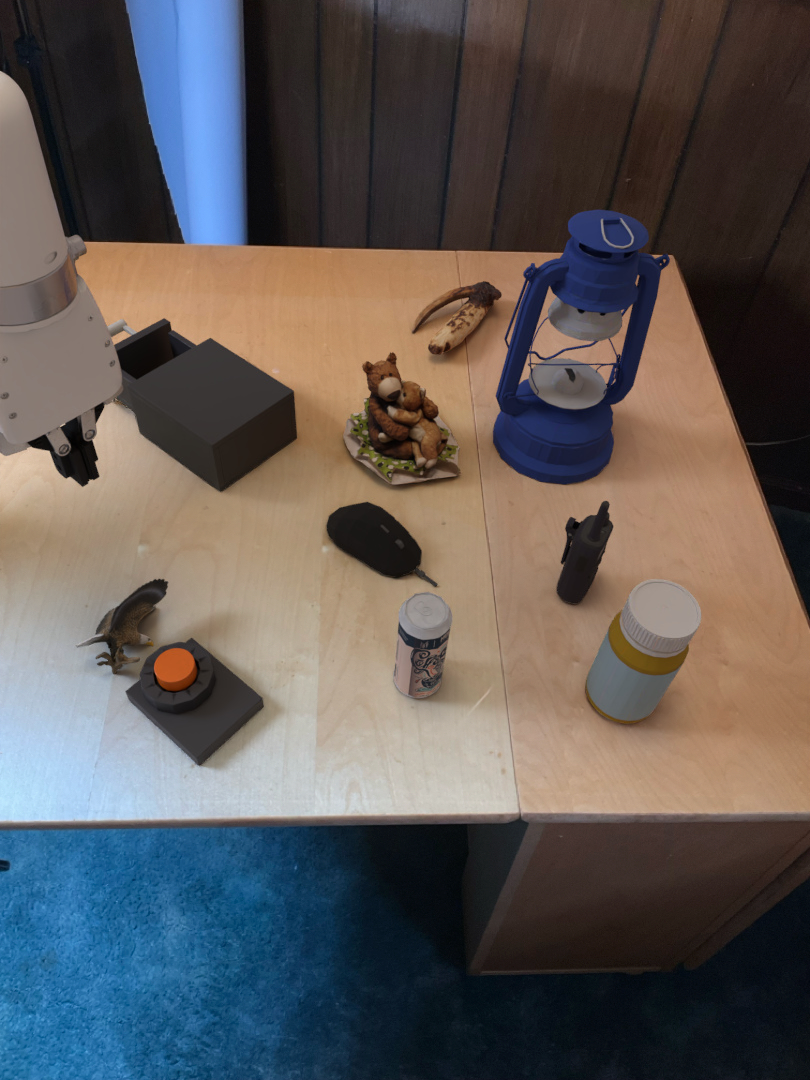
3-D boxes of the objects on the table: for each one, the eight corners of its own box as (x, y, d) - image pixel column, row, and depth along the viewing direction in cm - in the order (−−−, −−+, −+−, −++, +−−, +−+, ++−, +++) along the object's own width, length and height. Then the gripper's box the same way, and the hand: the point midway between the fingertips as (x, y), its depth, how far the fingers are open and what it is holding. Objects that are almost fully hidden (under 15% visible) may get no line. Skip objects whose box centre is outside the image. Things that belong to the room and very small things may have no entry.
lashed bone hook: (451, 290, 123) (392, 348, 113) (454, 261, 120) (393, 319, 109) (507, 308, 120) (451, 369, 110) (511, 279, 117) (454, 340, 106)
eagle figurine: (170, 674, 77) (189, 589, 81) (112, 649, 72) (135, 559, 76) (115, 684, 80) (135, 602, 85) (56, 659, 75) (81, 573, 79)
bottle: (612, 651, 83) (656, 561, 71) (668, 697, 80) (723, 611, 68) (569, 690, 79) (607, 603, 68) (625, 740, 76) (675, 658, 65)
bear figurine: (375, 504, 94) (378, 426, 84) (329, 422, 102) (328, 343, 93) (479, 474, 98) (493, 396, 88) (427, 397, 106) (434, 319, 97)
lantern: (504, 491, 96) (553, 266, 73) (471, 407, 105) (506, 184, 82) (637, 475, 99) (725, 254, 76) (594, 395, 108) (661, 176, 85)
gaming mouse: (418, 604, 85) (421, 582, 82) (315, 533, 90) (314, 509, 87) (454, 569, 88) (457, 546, 85) (352, 502, 94) (352, 478, 91)
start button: (149, 675, 74) (145, 665, 73) (179, 650, 76) (176, 640, 75) (174, 698, 73) (171, 689, 72) (205, 673, 75) (202, 663, 74)
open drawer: (72, 374, 104) (59, 337, 99) (143, 335, 110) (134, 298, 105) (170, 446, 97) (162, 409, 92) (241, 400, 103) (236, 364, 98)
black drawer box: (139, 433, 99) (126, 385, 93) (217, 385, 106) (210, 337, 100) (220, 492, 94) (211, 445, 88) (297, 438, 100) (294, 390, 94)
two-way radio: (578, 612, 86) (614, 519, 74) (540, 594, 87) (569, 500, 75) (596, 576, 89) (633, 482, 77) (559, 559, 90) (590, 464, 78)
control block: (126, 698, 76) (118, 680, 74) (192, 644, 80) (187, 625, 78) (199, 766, 72) (193, 749, 70) (264, 706, 77) (261, 688, 74)
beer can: (418, 710, 77) (428, 643, 68) (382, 679, 79) (387, 610, 70) (451, 678, 80) (464, 609, 70) (415, 649, 81) (424, 578, 72)
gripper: (78, 217, 58) (126, 409, 72) (-128, 300, 50) (-28, 497, 65) (144, 260, 55) (181, 451, 70) (-63, 355, 48) (26, 548, 62)
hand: (80, 473), depth 67 cm, fingers closed
